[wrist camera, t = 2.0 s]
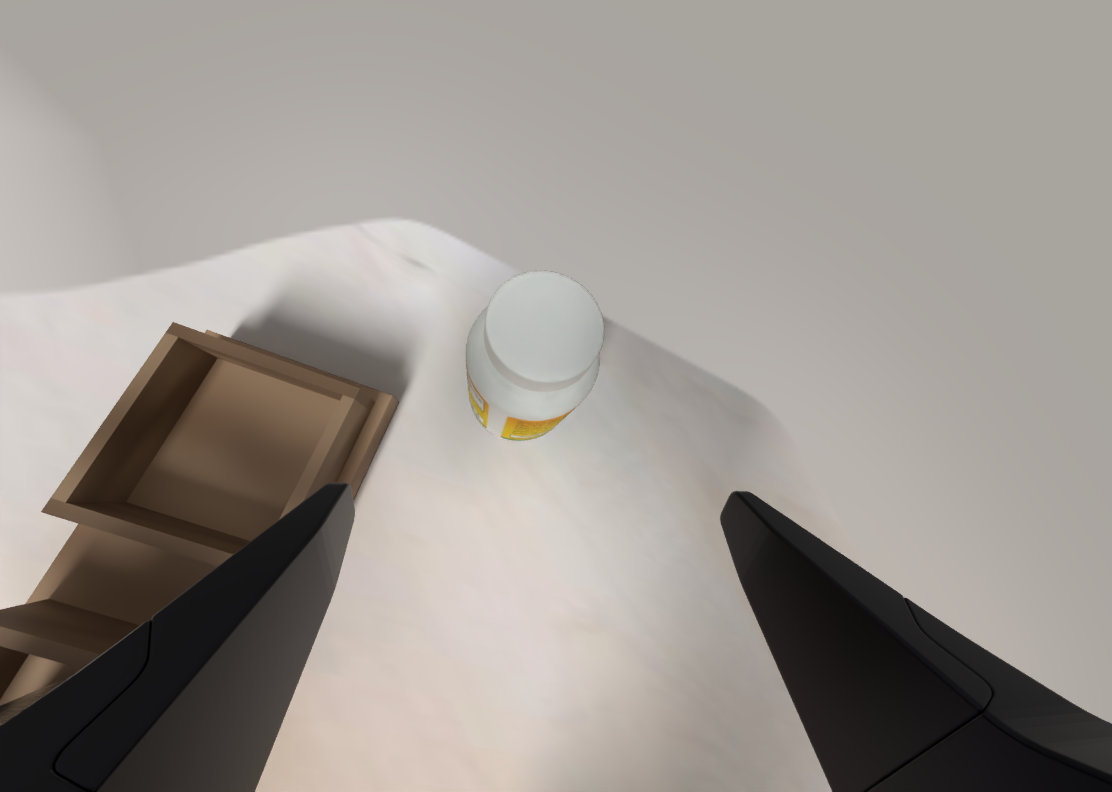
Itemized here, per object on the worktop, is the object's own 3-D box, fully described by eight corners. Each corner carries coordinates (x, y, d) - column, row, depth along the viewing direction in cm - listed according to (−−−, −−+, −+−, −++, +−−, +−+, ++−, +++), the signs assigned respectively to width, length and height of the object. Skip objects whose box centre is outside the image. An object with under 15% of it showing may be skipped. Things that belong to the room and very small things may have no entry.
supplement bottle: (450, 408, 21) (425, 340, 12) (504, 333, 23) (519, 222, 14) (534, 462, 21) (573, 434, 12) (583, 383, 23) (649, 306, 14)
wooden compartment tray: (226, 341, 20) (166, 304, 16) (398, 402, 21) (379, 381, 17) (-86, 831, 14) (-296, 954, 10) (170, 891, 15) (63, 1027, 11)
